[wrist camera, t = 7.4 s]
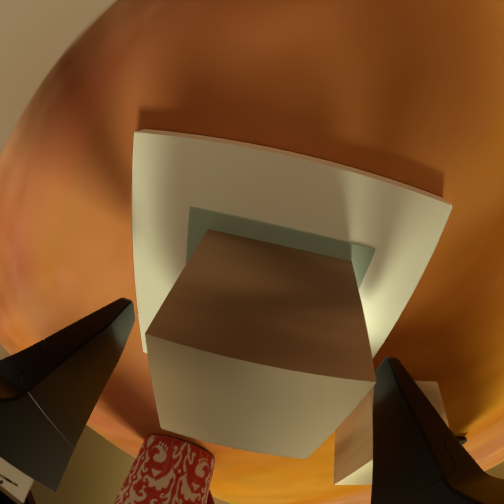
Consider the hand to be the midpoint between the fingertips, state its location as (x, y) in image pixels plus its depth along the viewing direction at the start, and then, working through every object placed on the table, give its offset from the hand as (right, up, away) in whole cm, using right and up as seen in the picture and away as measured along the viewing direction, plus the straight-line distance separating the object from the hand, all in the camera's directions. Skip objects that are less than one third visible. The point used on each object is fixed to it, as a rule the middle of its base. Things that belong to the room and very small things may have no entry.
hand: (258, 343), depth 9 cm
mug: (-7, -18, +15) cm, 24 cm away
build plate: (0, +2, +3) cm, 3 cm away
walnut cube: (0, +1, +2) cm, 2 cm away
